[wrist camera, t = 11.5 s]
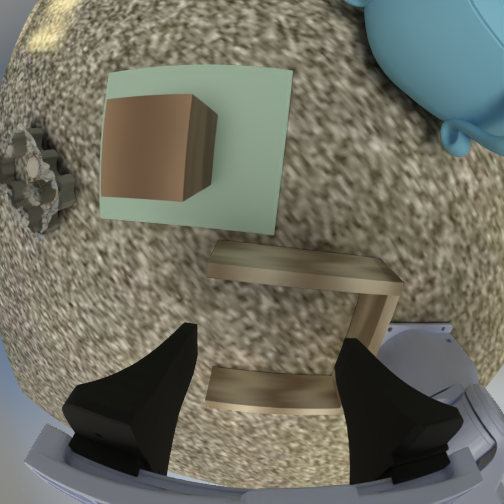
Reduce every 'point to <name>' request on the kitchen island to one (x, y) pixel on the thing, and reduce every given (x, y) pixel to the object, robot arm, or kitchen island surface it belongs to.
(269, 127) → the sage mat
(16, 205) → the egg carton
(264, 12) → the kitchen island surface
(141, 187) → the walnut block
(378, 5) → the decorative pot
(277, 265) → the open-side box
